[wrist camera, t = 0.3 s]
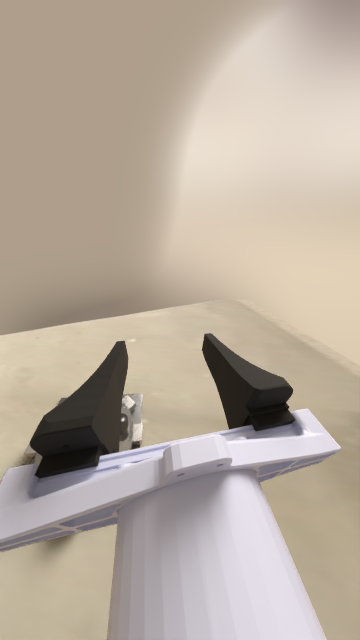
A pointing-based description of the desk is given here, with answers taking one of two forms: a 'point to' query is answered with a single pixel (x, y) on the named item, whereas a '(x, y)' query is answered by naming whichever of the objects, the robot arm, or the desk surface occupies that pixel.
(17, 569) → the desk surface
